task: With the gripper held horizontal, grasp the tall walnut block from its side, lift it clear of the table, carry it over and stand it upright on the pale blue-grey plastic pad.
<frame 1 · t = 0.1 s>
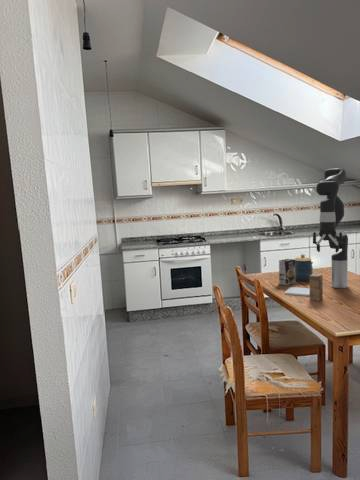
hand: (327, 252, 193), 29 cm above the table, tool pointing down, fingers open, 8 cm apart
canister: (303, 279, 259), on the table
pale pad: (299, 292, 227), on the table
coffee box: (287, 283, 249), on the table
walnut block: (316, 299, 211), on the table
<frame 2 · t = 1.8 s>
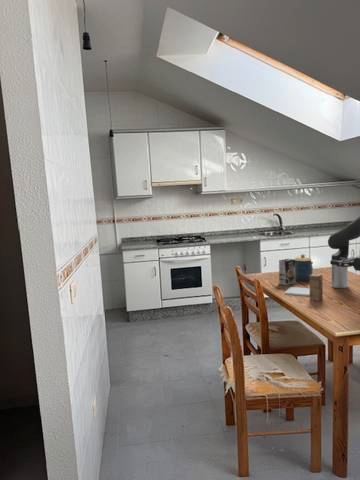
hand: (334, 260, 199), 23 cm above the table, tool horizontal, fingers open, 8 cm apart
nothing on the table moved.
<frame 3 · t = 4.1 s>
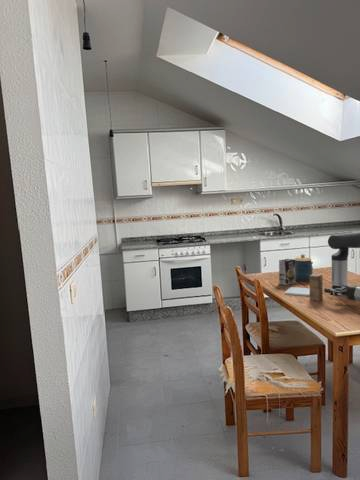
hand: (328, 288, 204), 7 cm above the table, tool horizontal, fingers open, 8 cm apart
nothing on the table moved.
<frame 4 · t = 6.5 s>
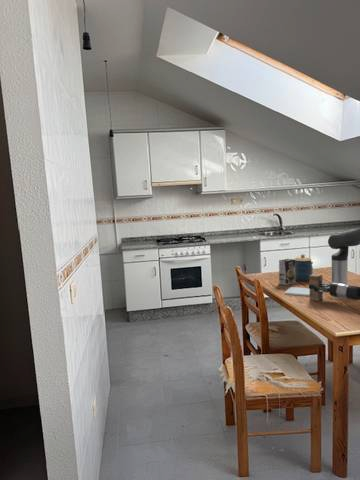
hand: (311, 285, 212), 8 cm above the table, tool horizontal, fingers closed on walnut block, 5 cm apart
walnut block: (316, 299, 211), on the table, touching gripper
everything else where it was.
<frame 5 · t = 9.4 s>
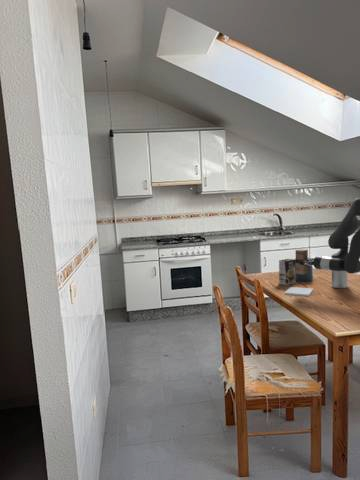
hand: (297, 260, 224), 20 cm above the table, tool horizontal, fingers closed on walnut block, 5 cm apart
walnut block: (301, 273, 223), point 12 cm above the table, touching gripper
everything else where it was.
when the fingers open (10 cm above the table, at t = 12.6 s): walnut block drops 1 cm, resting on pale pad.
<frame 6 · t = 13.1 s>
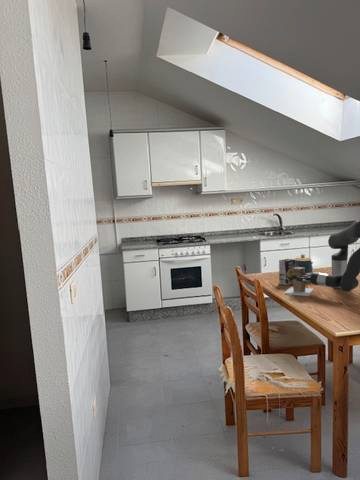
hand: (296, 275, 227), 10 cm above the table, tool horizontal, fingers open, 8 cm apart
walnut block: (299, 290, 227), point 1 cm above the table, touching pale pad
everything else where it was.
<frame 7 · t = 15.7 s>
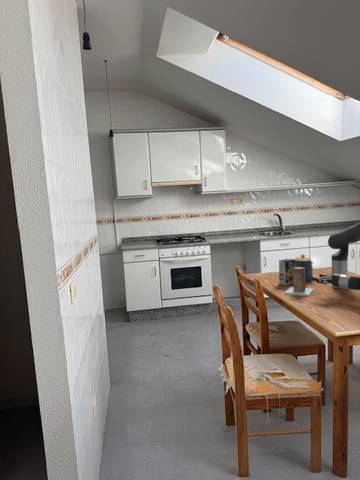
hand: (315, 277, 217), 11 cm above the table, tool horizontal, fingers open, 8 cm apart
nothing on the table moved.
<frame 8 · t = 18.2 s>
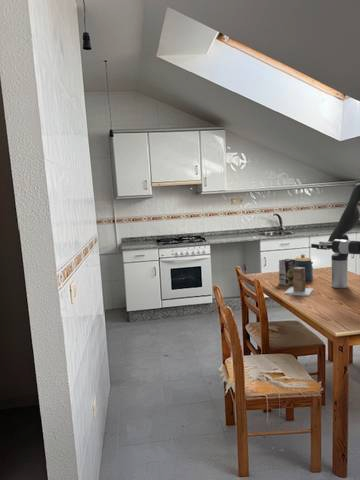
hand: (315, 244, 215), 30 cm above the table, tool horizontal, fingers open, 8 cm apart
nothing on the table moved.
at the end: walnut block inside the target area on the pale pad (0.1 cm from its centre), point 1.0 cm above the pale pad's base; walnut block tilted 0°; the gripper is holding nothing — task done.
